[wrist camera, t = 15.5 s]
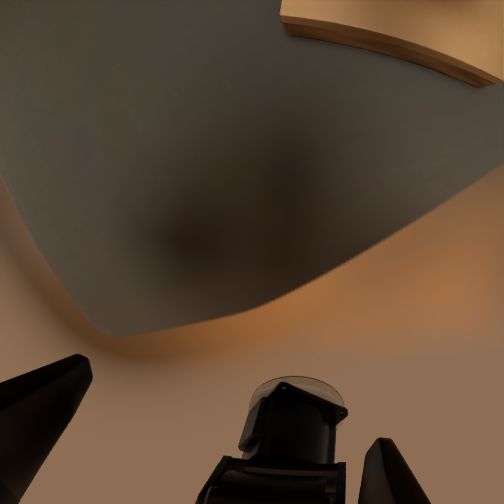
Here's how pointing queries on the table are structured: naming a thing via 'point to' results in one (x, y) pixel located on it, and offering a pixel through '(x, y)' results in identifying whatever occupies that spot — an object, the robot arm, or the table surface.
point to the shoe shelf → (411, 31)
